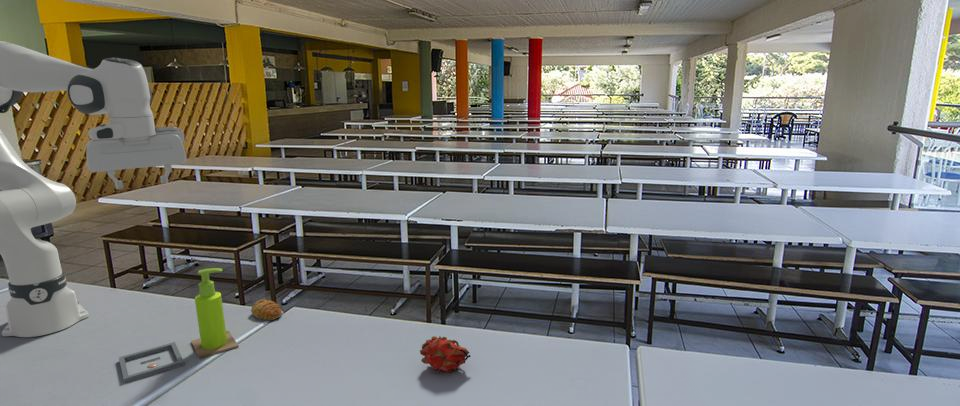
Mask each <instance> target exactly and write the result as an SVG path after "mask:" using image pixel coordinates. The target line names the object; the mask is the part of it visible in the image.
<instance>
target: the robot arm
mask: <svg viewBox="0 0 960 406" xmlns="http://www.w3.org/2000/svg"><path fill="white" fill-rule="evenodd" d="M64 91H67V96H68V97H67V98H68V100H69V101H70V104H71V105H72V107H74V109H76V110H77V111H78V112H80V113H81V114H84V115H90V116H91V115H92V116H94V115H97V116H99V115H108V119H109V122H107V123H103V124H100V125H98V126H95V127H93V128H90V129H89V130H88V138H90V140H89V141H87V145H86V164H87V169H88V170H89V171H90V172H91V173H101V172H107V176H108V177H109V179H111V180H112V181H113V182H114V186H115V187H114V188H115V190H121V189H124V185H123V184H124V183H123V180H118V179H117V178H116V177H115V175H116V172H115V171H119V170H121V171H122V170H129V169H130V170H133V169H138V168H139V169H140V168H141V169H142V168H151V167H161V166H163V168H164V170H165V172H164V174H163V175H160V176H159V178H160V183H161V185H164V184H169V175H170V174H171V172H172V165H182V164H183V165H184V164H185V163H186V161H187V159H188V158H187V154H186V150H185V149H186V148H185V147H184V142H185V133H184V131H183V130H182V129H181V128H179V127H176V126H168V127H167V126H165V127H164V126H163V127H162V126H160V127H159V126H158V127H157V126H155V125H156V124H155V119H154V118H155V117H154V114H153V112H152V109H151V105H150V104H151V102H152V99H153V92H152V89H151V86H150V85H149V80H148V77H147V74H146V71H145V69H144V66H143V65H142V64H141V62H138V61H137V60H134V59H129V58H121V57H107V58H104V59H102V61H101V62H100V64H99V65H98V66H97V67H95V68H92V67H91V68H90V67H86V66H84V65H80V64H76V63H72V62H69V61H66V60H64V59H60V58H57V57H53V56H50V55H48V54H45V53H42V52H39V51H37V50H33V49H31V48H28V47H25V46H21V45H18V44H16V43H12V42H8V41H3V40H0V114H5V113H7V112H8V111H9V110H10V108H11V107H13V106H15V105H16V104H17V103H18V102H19V101H20V99H21V98H22V96H23V94H24V93H46V92H47V93H49V92H64ZM76 205H77V198H76V195H75V193H74V192H73V190H72V189H71V188H70V187H68V185H66V184H64V183H62V182H58V181H55V180H51V179H49V178H47V177H45V176H43V175H41V174H40V173H38V172H37V171H35V170H34V169H32V168H31V167H30V166H29V165H27V164H26V162H25V161H23V159H22V158H21V156H20V155H19V154H18V153H17V152H16V150H15V149H14V148H13V146H12V144H11V143H10V141H9V140H8V138H7V137H6V136H5V134H4V132H3V131H2V129H1V128H0V256H1V258H2V260H3V262H4V266H5V269H6V273H7V275H8V276H7V277H8V280H9V282H8V284H7V285H8V286H7V287H8V293H9V295H10V297H11V298H10V300H9V301H8V302H7V303H6V304H5V311H6V317H7V322H8V323H7V325H5V327H4V328H3V330H2V331H1V336H2V337H19V338H34V337H40V336H45V335H49V334H53V333H56V332H59V331H63V330H65V329H68V328H70V327H72V326H73V325H75V324H76V323H79V322H80V321H83V320H84V319H86V318H88V317H90V315H89V311H87V309H85V308H84V307H83V306H82V305H81V304H80V303H79V301H78V299H77V295H76V292H75V291H74V290H73V289H71V288H69V287H68V286H67V285H68V283H67V276H66V275H65V272H64V271H63V270H62V266H61V262H60V261H61V259H60V256H59V255H60V254H59V252H58V251H59V250H58V248H57V247H56V246H55V245H54V244H52V243H51V242H50V241H47V240H42V239H36V238H35V237H34V234H33V233H32V228H35V227H40V226H43V225H47V224H51V223H55V222H58V221H60V220H62V219H64V218H66V217H68V216H70V215H71V214H73V213H74V211H75V209H76Z"/></svg>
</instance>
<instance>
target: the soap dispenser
mask: <svg viewBox="0 0 960 406" xmlns="http://www.w3.org/2000/svg"><path fill="white" fill-rule="evenodd" d="M222 272H223V268H222V267H210V268H203V269H199V270H198V271H197V275H199V276H201V281H200V282H199V283H198V288H199V289H198V290H199V294H197V295H196V296H195V297H194V303H195V310H196V316H197V323H198V330H199V331H198V332H199V339H200V338H201V345H202V348H204V349H216V348H219V347H221V346H223V345H225V344H226V343H227V336H226V331H227V329H226V322H225V313H224V307H223V298H222V294H221V292H219V291H216V290H215V282H214V280H210V274H212V273H213V274H214V273H217V274H218V273H222Z"/></svg>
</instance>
